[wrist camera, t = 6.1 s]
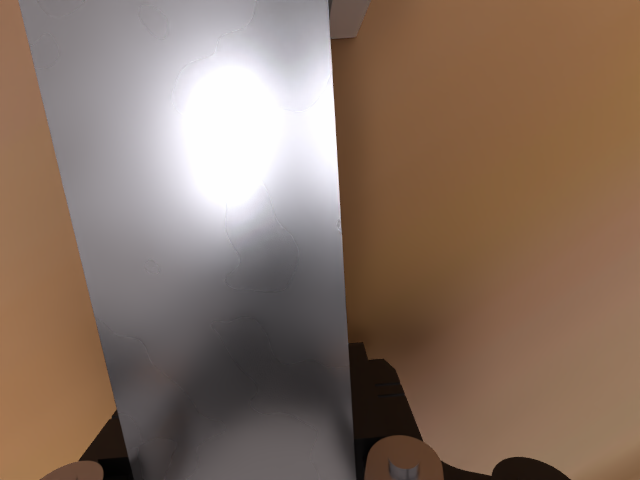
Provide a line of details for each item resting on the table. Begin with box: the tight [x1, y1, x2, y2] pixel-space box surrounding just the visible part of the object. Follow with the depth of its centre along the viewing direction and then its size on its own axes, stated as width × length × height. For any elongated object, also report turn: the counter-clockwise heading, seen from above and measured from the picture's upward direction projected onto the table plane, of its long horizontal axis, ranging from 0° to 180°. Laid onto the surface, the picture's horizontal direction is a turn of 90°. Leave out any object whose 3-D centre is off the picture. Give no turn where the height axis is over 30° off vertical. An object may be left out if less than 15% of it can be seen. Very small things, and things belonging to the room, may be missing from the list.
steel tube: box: [18, 0, 356, 480], centre depth 8 cm, size 4×26×4 cm, turn 4°
